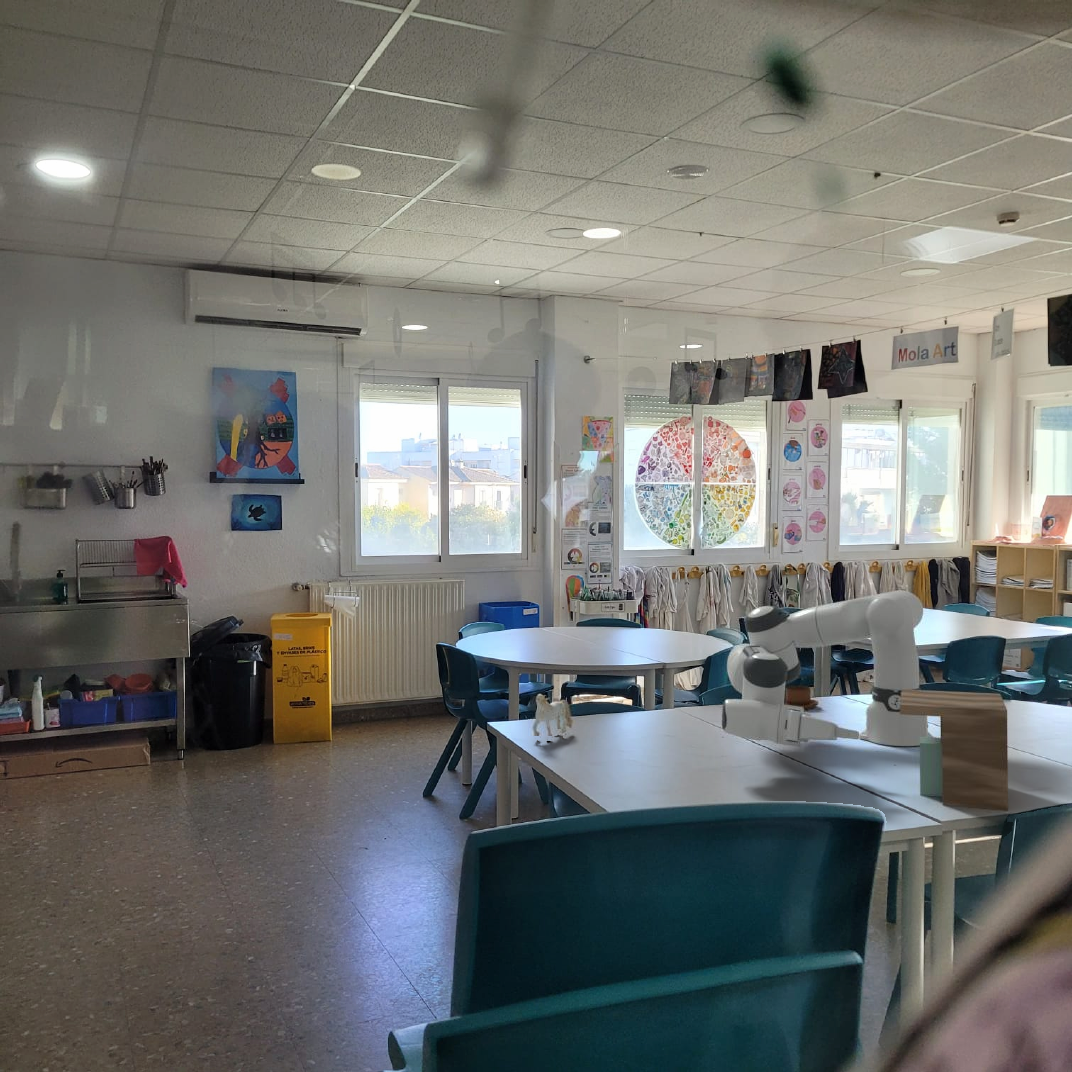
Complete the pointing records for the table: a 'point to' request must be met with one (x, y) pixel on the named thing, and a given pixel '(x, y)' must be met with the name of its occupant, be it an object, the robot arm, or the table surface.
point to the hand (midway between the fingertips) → (858, 735)
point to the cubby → (968, 744)
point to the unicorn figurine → (552, 714)
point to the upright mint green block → (931, 766)
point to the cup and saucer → (799, 697)
